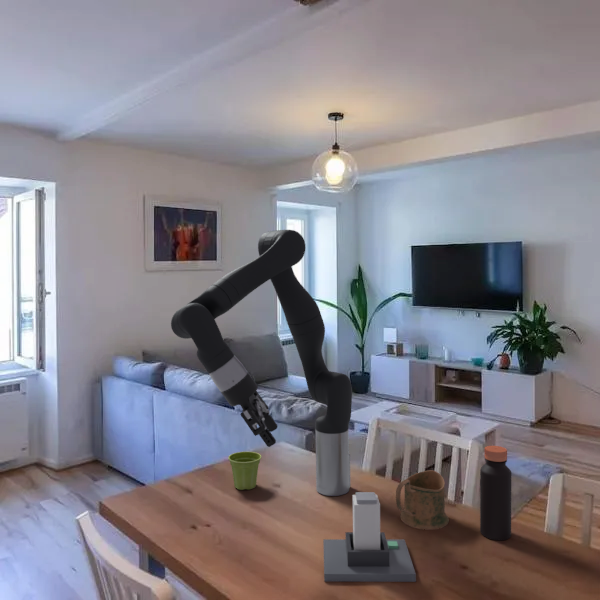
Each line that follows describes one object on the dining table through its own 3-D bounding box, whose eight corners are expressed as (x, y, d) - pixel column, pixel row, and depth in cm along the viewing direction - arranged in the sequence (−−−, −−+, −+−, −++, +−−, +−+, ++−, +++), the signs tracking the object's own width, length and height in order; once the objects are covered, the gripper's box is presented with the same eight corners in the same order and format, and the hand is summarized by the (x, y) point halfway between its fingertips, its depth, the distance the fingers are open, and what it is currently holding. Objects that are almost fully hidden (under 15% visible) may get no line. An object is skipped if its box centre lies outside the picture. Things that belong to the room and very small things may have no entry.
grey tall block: (353, 549, 118) (352, 491, 117) (377, 549, 118) (376, 491, 117) (355, 562, 113) (354, 501, 112) (380, 562, 113) (379, 501, 112)
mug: (377, 528, 131) (376, 479, 130) (416, 504, 144) (416, 459, 143) (420, 544, 123) (419, 491, 122) (457, 517, 136) (457, 470, 135)
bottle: (483, 524, 132) (483, 442, 131) (513, 531, 128) (514, 446, 127) (477, 536, 126) (477, 450, 125) (508, 543, 123) (508, 455, 121)
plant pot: (243, 477, 164) (243, 449, 164) (268, 484, 159) (268, 454, 158) (222, 488, 157) (221, 458, 156) (247, 495, 151) (246, 464, 151)
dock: (324, 581, 109) (324, 559, 109) (323, 545, 123) (323, 526, 123) (415, 581, 108) (415, 559, 108) (404, 546, 122) (404, 526, 122)
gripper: (243, 381, 117) (286, 441, 119) (249, 362, 131) (287, 416, 133) (214, 399, 118) (257, 459, 120) (223, 379, 132) (262, 433, 134)
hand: (273, 436), depth 127 cm, fingers open, 8 cm apart
